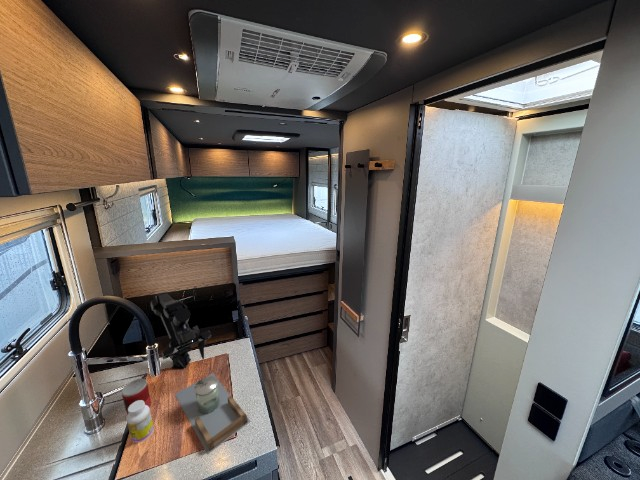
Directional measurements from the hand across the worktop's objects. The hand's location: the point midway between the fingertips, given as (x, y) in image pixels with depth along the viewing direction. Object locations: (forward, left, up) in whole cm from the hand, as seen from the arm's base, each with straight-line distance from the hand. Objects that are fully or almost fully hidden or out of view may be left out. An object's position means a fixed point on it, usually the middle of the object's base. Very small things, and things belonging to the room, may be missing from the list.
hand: (194, 363), depth 104 cm
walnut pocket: (+15, -15, -13) cm, 25 cm away
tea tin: (+8, -8, -13) cm, 17 cm away
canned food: (-19, -9, -14) cm, 25 cm away
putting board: (+9, -9, -13) cm, 18 cm away
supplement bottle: (-11, -19, -14) cm, 26 cm away
